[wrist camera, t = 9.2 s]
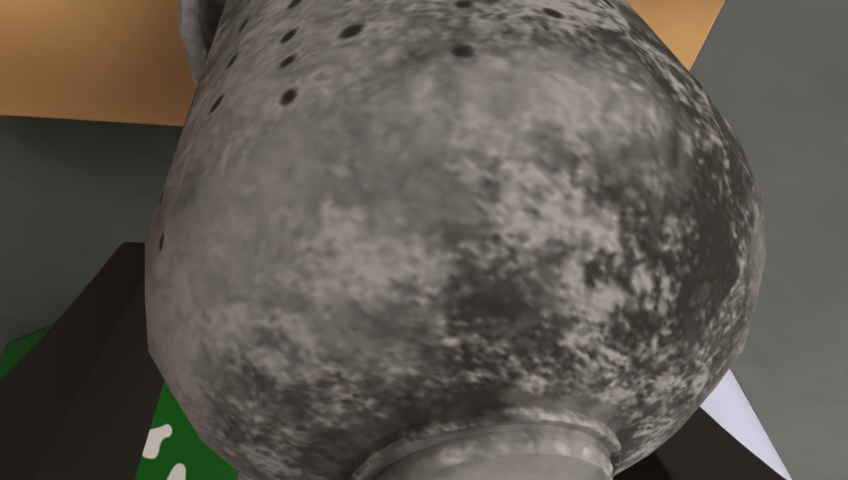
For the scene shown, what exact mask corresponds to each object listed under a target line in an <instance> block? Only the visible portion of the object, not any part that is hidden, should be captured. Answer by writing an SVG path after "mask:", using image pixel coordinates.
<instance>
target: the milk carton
mask: <svg viewBox="0 0 848 480" xmlns="http://www.w3.org/2000/svg"><path fill="white" fill-rule="evenodd" d="M52 326H53V325H52ZM52 326H50V327H48V328H45V329H43V330H40V331H38V332H35V333H33V334H31V335H28V336H26V337H23V338H21V339H19V340H16V341H14V342H11V343H9V344H8V345H7V347H6V349H5V351H4V354H3V356H2V358H1V361H0V380H1V379H2V378H3V377H4V376H5V375H6V374H7V373H8V372H9V371H10V370H11V369H12V368H13V367H14V366H15V365H16V364H17V363H18V362H19V361H20V360H21V359H22V358H23V357H24V356H25V355H26V354H27V353H28V352H29V351H30V350H31V349H32V348H33V347H34V346H35V345H36V344H37V343H38V341H39V340H40V339H41V338H42V337H43V336H44V335H45V334H46V333H47V332H48V330H49V329H50V328H51V327H52ZM238 474H239V470H237V469H235V468H234V467H232V466H231V465H230V464H229V463H228V462H226V461H225V460H224V459H223V458H222V457H220V456H219V455H218V454H217V453H216V452H214V451H213V450H212V449H211V448H210V447H208V446H207V445H206V444H205V443H204V442H202V441H201V439H200V438H199V436H198V434H197V433H196V431H195V430H194V428H193V426H192V425H191V423H190V422H189V420H188V418H187V417H186V415H185V414H184V412H183V411H182V409H181V407H180V406H179V404H178V403H177V401H176V399H175V398H174V396H173V395H172V393H171V391H170V389H169V387H168V386H167V384H166V382H165V380H164V384H163V387H162V391H161V394H160V397H159V401H158V404H157V408H156V411H155V414H154V418H153V421H152V424H151V428H150V431H149V434H148V438H147V441H146V444H145V447H144V451H143V454H142V457H141V461H140V464H139V467H138V471H137V474H136V477H135V480H237V479H238Z"/></svg>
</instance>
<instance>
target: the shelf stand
mask: <svg viewBox="0 0 848 480" xmlns="http://www.w3.org/2000/svg"><path fill="white" fill-rule="evenodd" d="M627 2H628V3H629V4H630V5H631V6H632V7H633V8H634V10H635V11H636V12H637V13H638V14H639V15H640V16H641V18H642V19H643V20H644V21H645V22H646V23H647V24H648V25H649V27H650V28H651V29H652V30H653V31H654V32H655V33H656V35H657V36H658V37H659V38H660V39H661V40H662V41H663V43H664V44H665V45H666V46H667V47H668V48H669V49H670V50H671V52H672V53H673V54H674V55H675V56H676V57H677V58H678V60H679V61H680V62H681V63H682V64H683V65H684V66H685V67H686V69H687V70H688V71H690V69H691V67H692V65H693V63H694V61H695V59H696V57H697V55H698V53H699V51H700V49H701V47H702V45H703V43H704V41H705V39H706V37H707V35H708V33H709V31H710V29H711V27H712V25H713V23H714V21H715V19H716V17H717V15H718V13H719V12H720V10H721V8H722V6H723V4H724V2H725V0H627ZM196 88H197V86H196V84H195V83H194V81H193V78H192V75H191V71H190V68H189V64H188V61H187V57H186V54H185V50H184V47H183V43H182V40H181V36H180V33H179V29H178V0H0V115H5V116H21V117H38V118H54V119H70V120H86V121H102V122H119V123H135V124H151V125H167V126H183V127H184V124H185V121H186V118H187V115H188V112H189V109H190V106H191V103H192V100H193V97H194V94H195V91H196Z"/></svg>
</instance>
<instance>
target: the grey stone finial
mask: <svg viewBox="0 0 848 480" xmlns="http://www.w3.org/2000/svg"><path fill="white" fill-rule="evenodd" d="M178 29H179V33H180V36H181V40H182V43H183V47H184V50H185V54H186V57H187V61H188V64H189V68H190V71H191V75H192V78H193V81H194V83H195V84H196V86H197V88H196V91H195V94H194V97H193V100H192V103H191V106H190V109H189V112H188V115H187V118H186V121H185V124H184V127H183V130H182V133H181V136H180V139H179V141H178V144H177V147H176V150H175V153H174V156H173V159H172V162H171V165H170V168H169V171H168V174H167V177H166V180H165V183H164V186H163V189H162V192H161V194H160V197H159V200H158V203H157V206H156V209H155V212H154V215H153V218H152V221H151V224H150V227H149V230H148V233H147V236H146V239H145V307H146V323H147V339H148V351H149V353H150V355H151V357H152V358H153V360H154V362H155V364H156V366H157V367H158V369H159V371H160V373H161V375H162V377H163V378H164V380H165V382H166V384H167V386H168V387H169V389H170V391H171V393H172V395H173V396H174V398H175V399H176V401H177V403H178V404H179V406H180V407H181V409H182V411H183V412H184V414H185V415H186V417H187V418H188V420H189V422H190V423H191V425H192V426H193V428H194V430H195V431H196V433H197V434H198V436H199V438H200V439H201V441H202V442H204V443H205V444H206V445H207V446H208V447H210V448H211V449H212V450H213V451H214V452H216V453H217V454H218V455H219V456H220V457H222V458H223V459H224V460H225V461H226V462H228V463H229V464H230V465H231V466H232V467H234V468H235V469H237V470H239V471H240V472H242V473H244V474H246V475H247V476H249V477H251V478H253V479H254V480H613V476H615V475H616V474H618V473H620V472H621V471H623V470H625V469H627V468H628V467H630V466H632V465H633V464H635V463H637V462H638V461H640V460H642V459H644V458H645V457H647V456H649V455H650V454H651V453H652V452H654V451H655V450H656V449H657V448H658V447H660V446H661V445H662V444H663V443H664V442H665V441H667V440H668V439H669V438H670V437H671V436H673V435H674V434H675V433H676V432H677V431H678V430H679V429H680V428H681V427H682V426H683V425H684V424H685V422H686V421H687V420H688V419H689V418H690V417H691V416H692V414H693V413H694V412H695V411H696V410H697V409H698V408H699V406H700V405H701V404H702V403H703V402H704V401H705V399H706V398H707V397H708V396H709V395H710V394H711V393H712V391H713V390H714V389H715V388H716V387H717V385H718V384H719V382H720V381H721V380H722V378H723V377H724V376H725V374H726V373H727V371H728V370H729V369H730V367H731V366H732V365H733V363H734V362H735V360H736V359H737V358H738V356H739V355H740V354H741V352H742V351H743V348H744V345H745V341H746V338H747V334H748V331H749V328H750V324H751V321H752V317H753V314H754V310H755V306H756V302H757V297H758V292H759V288H760V283H761V278H762V274H763V269H764V264H765V260H766V255H767V251H768V239H767V233H766V226H765V220H764V214H763V207H762V201H761V195H760V191H759V188H758V186H757V183H756V181H755V178H754V176H753V173H752V171H751V168H750V166H749V163H748V161H747V158H746V156H745V153H744V151H743V148H742V146H741V143H740V141H739V138H738V137H737V135H736V134H735V133H734V131H733V130H732V128H731V127H730V126H729V124H728V123H727V121H726V120H725V118H724V117H723V116H722V114H721V113H720V111H719V110H718V109H717V107H716V106H715V104H714V103H713V102H712V100H711V99H710V97H709V96H708V94H707V93H706V92H705V90H704V89H703V87H702V86H701V85H700V83H699V82H698V81H697V80H696V79H695V78H694V77H693V75H692V74H691V73H690V72H689V71H688V70H687V69H686V67H685V66H684V65H683V64H682V63H681V62H680V61H679V60H678V58H677V57H676V56H675V55H674V54H673V53H672V52H671V50H670V49H669V48H668V47H667V46H666V45H665V44H664V43H663V41H662V40H661V39H660V38H659V37H658V36H657V35H656V33H655V32H654V31H653V30H652V29H651V28H650V27H649V25H648V24H647V23H646V22H645V21H644V20H643V19H642V18H641V16H640V15H639V14H638V13H637V12H636V11H635V10H634V8H633V7H632V6H631V5H630V4H629V3H628V2H627V0H178Z"/></svg>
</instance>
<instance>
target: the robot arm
mask: <svg viewBox="0 0 848 480" xmlns="http://www.w3.org/2000/svg"><path fill="white" fill-rule="evenodd" d="M163 384H164V378H163V377H162V375H161V373H160V371H159V369H158V367H157V366H156V364H155V362H154V360H153V358H152V357H151V355H150V353H149V351H148V339H147V323H146V307H145V243H135V242H124V243H123V244H122V245H121V246H119V247H118V249H117V250H116V251H115V252H114V254H113V255H112V256H111V257H110V259H109V260H108V261H107V262H106V264H105V265H104V266H103V267H102V269H101V270H100V271H99V272H98V274H97V275H96V276H95V277H94V278H93V280H92V281H91V282H90V283H89V285H88V286H87V287H86V288H85V289H84V290H83V292H82V293H81V294H80V295H79V296H78V298H77V299H76V300H75V301H74V302H73V303H72V305H71V306H70V307H69V308H68V309H67V310H66V311H65V312H64V314H63V315H62V316H61V317H60V318H59V319H58V320H57V321H56V323H55V324H54V325H53V326H52V327H51V328H50V329H49V330H48V332H47V333H46V334H45V335H44V336H43V337H42V338H41V339H40V340H39V341H38V343H37V344H36V345H35V346H34V347H33V348H32V349H31V350H30V351H29V352H28V353H27V354H26V355H25V356H24V357H23V358H22V359H21V360H20V361H19V362H18V363H17V364H16V365H15V366H14V367H13V368H12V369H11V370H10V371H9V372H8V373H7V374H6V375H5V376H4V377H3V378H2V379H1V380H0V480H135V477H136V474H137V471H138V467H139V464H140V461H141V457H142V454H143V451H144V447H145V444H146V441H147V438H148V434H149V431H150V428H151V424H152V421H153V418H154V414H155V411H156V408H157V404H158V401H159V397H160V394H161V391H162V387H163ZM613 480H792V479H791V477H790V475H789V473H788V472H787V470H786V468H785V466H784V465H783V463H782V461H781V459H780V457H779V456H778V454H777V452H776V450H775V449H774V447H773V445H772V443H771V441H770V440H769V438H768V436H767V434H766V432H765V431H764V429H763V427H762V425H761V424H760V422H759V420H758V418H757V416H756V415H755V413H754V411H753V409H752V408H751V406H750V404H749V402H748V400H747V399H746V397H745V395H744V393H743V391H742V390H741V388H740V386H739V384H738V383H737V381H736V379H735V377H734V375H733V374H732V372H731V370H730V369H729V370H728V371H727V373H726V374H725V376H724V377H723V378H722V380H721V381H720V382H719V384H718V385H717V387H716V388H715V389H714V390H713V391H712V393H711V394H710V395H709V396H708V397H707V398H706V399H705V401H704V402H703V403H702V404H701V405H700V406H699V408H698V409H697V410H696V411H695V412H694V413H693V414H692V416H691V417H690V418H689V419H688V420H687V421H686V422H685V424H684V425H683V426H682V427H681V428H680V429H679V430H678V431H677V432H676V433H675V434H674V435H673V436H671V437H670V438H669V439H668V440H667V441H665V442H664V443H663V444H662V445H661V446H660V447H658V448H657V449H656V450H655V451H654V452H652V453H651V454H650V455H649V456H647V457H645V458H644V459H642V460H640V461H638V462H637V463H635V464H633V465H632V466H630V467H628V468H627V469H625V470H623V471H621V472H620V473H618V474H616V475H615V476H613Z"/></svg>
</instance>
